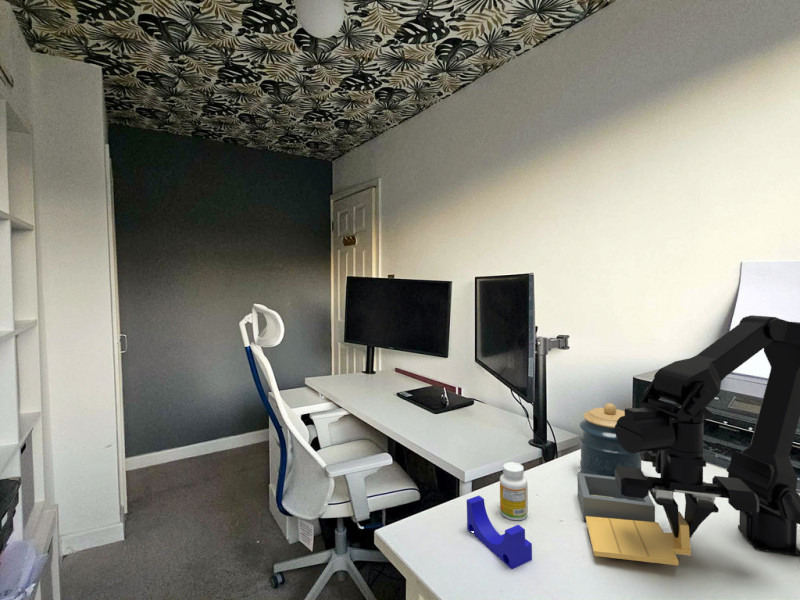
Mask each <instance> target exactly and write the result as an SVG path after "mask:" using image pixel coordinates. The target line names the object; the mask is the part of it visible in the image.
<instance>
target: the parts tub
mask: <svg viewBox="0 0 800 600" xmlns="http://www.w3.org/2000/svg"><path fill="white" fill-rule="evenodd" d="M577 498H578V503H579V507H580V511H581V516H582V519H583V523H586V516H590V517H601V518H613V519H624V520H636V521H647V522H656V505H655V504H654V502H653V500H652V498H651V497H650V494H649V495H648V496H646V497H645V498H644V499H643V498H635V497H627V496H624V495H622V494H621V492H620V490H619V488H618V485H617V483H616V481H615V477H611V476H602V475H593V474H585V473H581V472H577Z"/></svg>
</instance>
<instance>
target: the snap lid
mask: <svg viewBox="0 0 800 600" xmlns="http://www.w3.org/2000/svg"><path fill="white" fill-rule="evenodd" d="M678 518H679V533H678V538H675V537H674V535H673V533H672V532H667V531H666V532H665V531H664V530H663V528H662V526H661V525H660V523H659V522H658V521H655V522H647V521H636V520H624V519H613V518H601V517H590V516H586V522H585V523H586V526H587V531H588V535H589V539H590V544H591V548H592V552H593V556H594V557H601V558H611V559H618V560H620V559H621V560H627V561H628V560H629V561H638V562H645V563H653V564H660V565H661V564H664V565H670V566H680V565H679V559H678V557H677V555H684V556H692V550H691V541H690V539H691V538H690V536H689V525H688V524H687V522H686V521H685V519H684V516H683V514H682V513H681V512H680V511H679V510H678Z"/></svg>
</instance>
